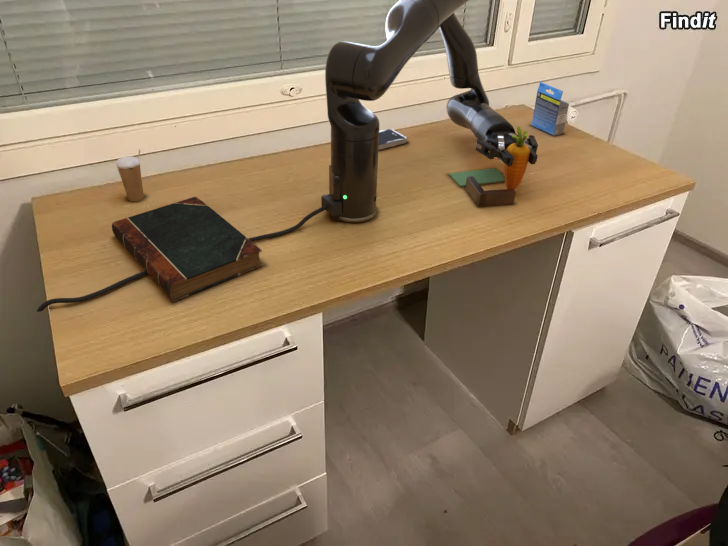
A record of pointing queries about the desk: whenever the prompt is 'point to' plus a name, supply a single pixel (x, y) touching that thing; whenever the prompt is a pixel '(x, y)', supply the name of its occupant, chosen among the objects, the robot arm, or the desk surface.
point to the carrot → (517, 160)
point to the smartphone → (390, 138)
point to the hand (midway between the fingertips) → (522, 161)
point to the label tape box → (549, 110)
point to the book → (187, 247)
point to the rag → (478, 176)
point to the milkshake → (131, 177)
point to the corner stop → (488, 194)
